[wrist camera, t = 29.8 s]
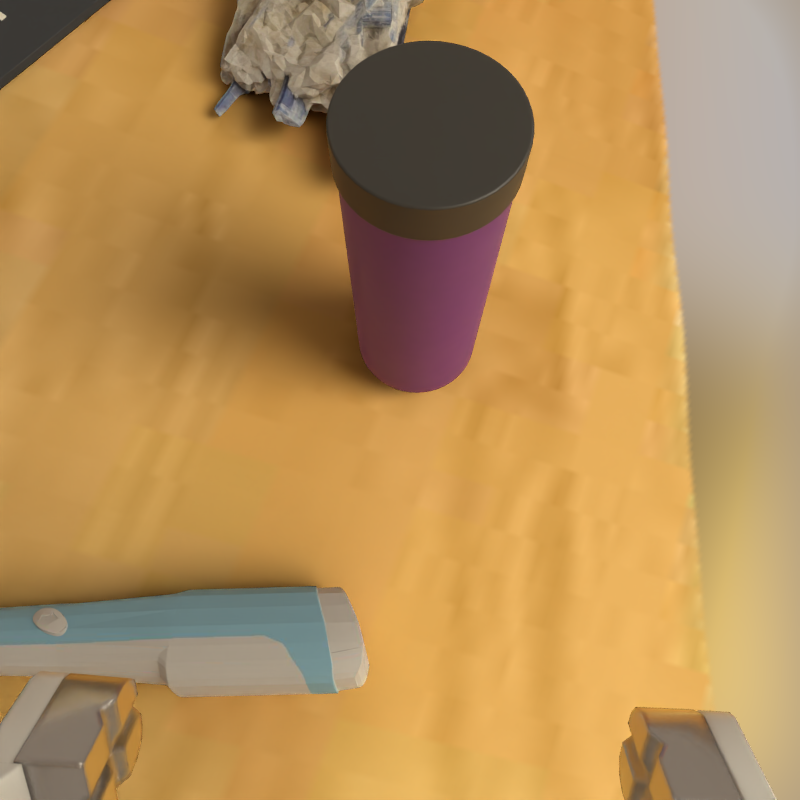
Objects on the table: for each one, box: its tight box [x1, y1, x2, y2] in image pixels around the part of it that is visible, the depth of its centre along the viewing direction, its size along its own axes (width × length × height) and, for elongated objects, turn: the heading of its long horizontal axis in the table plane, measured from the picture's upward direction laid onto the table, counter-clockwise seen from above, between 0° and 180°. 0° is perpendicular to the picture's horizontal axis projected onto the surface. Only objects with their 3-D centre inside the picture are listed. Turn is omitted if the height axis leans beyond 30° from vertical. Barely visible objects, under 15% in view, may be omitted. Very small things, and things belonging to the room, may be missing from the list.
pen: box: [0, 586, 369, 697], centre depth 21 cm, size 19×3×3 cm, turn 92°
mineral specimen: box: [214, 0, 424, 127], centre depth 29 cm, size 15×8×4 cm, turn 164°
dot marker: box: [326, 41, 534, 392], centre depth 20 cm, size 4×4×12 cm
